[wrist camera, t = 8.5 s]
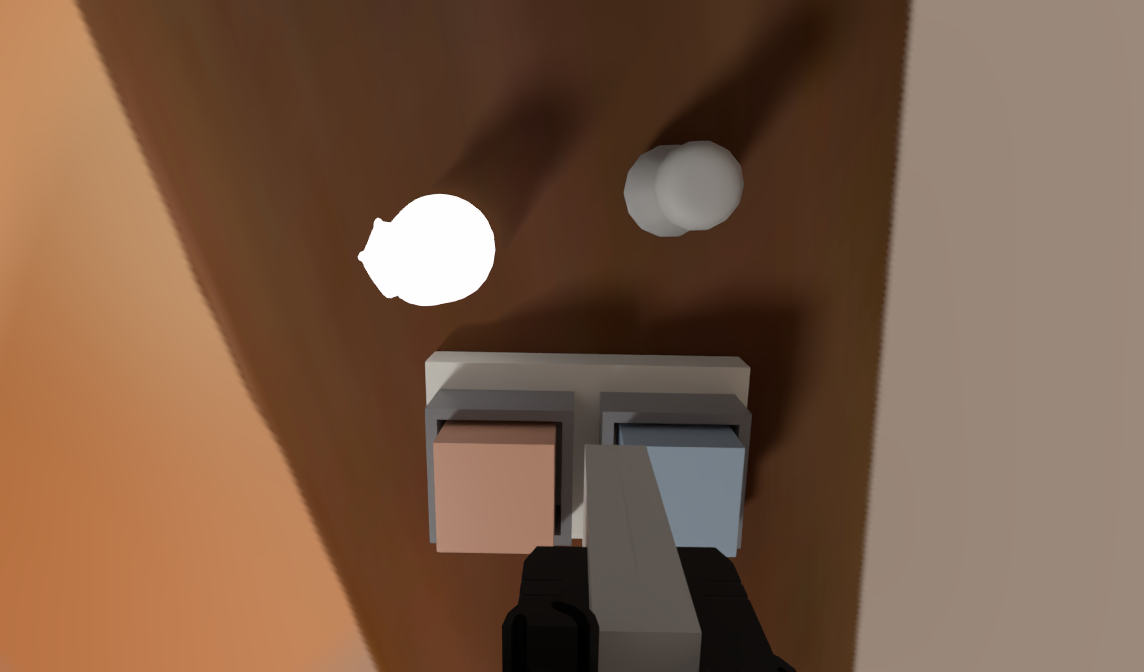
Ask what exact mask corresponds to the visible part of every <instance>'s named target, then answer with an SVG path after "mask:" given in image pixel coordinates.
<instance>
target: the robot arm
mask: <svg viewBox="0 0 1144 672" xmlns="http://www.w3.org/2000/svg"><path fill="white" fill-rule="evenodd" d="M502 665H503V672H796V670H795V669H794V668H793V667H792V666H790V665H789V664H788V663H786V662H785V661H784V660H782V659H781V658H780V657H778V656H776V655H774V654H773V652H772V650H771V648H770V645H769V643H768V641H767V639H766V636H765V634H764V632H763V630H762V627H761V625H760V623H759V620H758V618H757V616H756V614H755V611H754V609H753V607H752V605H751V602H750V600H748V596H747V593H746V591H745V589H744V587H743V585H741V580H740V578H739V575H738V573H737V571H736V569H735V566H734V564H733V563H732V562H731V561H730V560H729V559H728V558H727V557H726V556H725V555H724V554H722V553H721V552H720V551H719V550H718V549H717V548H716V547H676V545H675V542H674V538H673V535H672V532H671V528H670V525H669V521H668V518H667V515H666V511H665V508H664V505H663V501H662V498H661V495H660V491H659V488H658V485H657V481H656V478H655V474H654V471H653V468H652V464H651V461H650V458H649V454H648V451H647V448H646V445H592V444H585V460H584V503H583V547H562V546H536V548H535V549H534V550H533V551H532V552H531V554H530V555H529V556H528V557H527V558H526V560H525V561H524V566H523V573H522V582H521V587H520V595H519V601H518V605H517V606H516V607H514V608H513V609H512V610H511V611H510V612H509V613H508V614H507V616H506V618H505V620H504V623H503V625H502Z"/></svg>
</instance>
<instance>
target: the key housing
mask: <svg viewBox="0 0 1144 672" xmlns="http://www.w3.org/2000/svg"><path fill="white" fill-rule="evenodd" d="M425 372H426V399H427V406H426V408H425V423H426V449H427V476H428V503H429V529H430V543H437V541H436V512H435V484H434V455H433V442H434V440H435V439H436V437H437V435H438V434H439V432H440V430H441V429H442V427H443V425H444V424H445V422H446V420H496V421H553V422H557V450H556V516H555V533H554V545H571V539H572V538H583V503H584V460H585V444H592V445H617V423H666V424H723V425H729V426H730V427H731V429H732V430H733V432H734V433H735V435H736V436H737V437H738V439H739V440H740V442H741V443H742V444H743V446H744V447H745V455H744V467H743V479H742V490H741V502H740V514H739V526H738V537H737V548H740V547H741V536H742V524H743V513H744V501H745V490H746V478H747V466H748V455H749V443H750V432H751V420H752V414H751V413H750V411H749V410H748V409H747V402H748V390H749V378H750V367H749V366H748V365H747V364H746V363H745V362H744V361H743V360H742V359H741V358H739V357H732V356H675V355H619V354H562V353H505V352H449V351H435V352H434V353H433V354H432V355H431V356H430V357H429V358H428V359H427V360H426V361H425Z"/></svg>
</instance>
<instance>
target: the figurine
mask: <svg viewBox="0 0 1144 672" xmlns="http://www.w3.org/2000/svg"><path fill="white" fill-rule="evenodd" d="M494 254H495V244H494V235H493V232H492V230H491V228H490V225H489V223H488V221H487V219H486V218H485V217H484V215H483V214H482V213H481V211H480V210H478V209H477V208H476V207H474V206H473V205H472V204H470V203H469V202H467V201H465V200H463V199H461V198H459V197H455V196H451V195H445V194H435V195H428V196H424V197H421V198H418V199H416V200H414V201H413V202H411V203H410V204H408V205H407V206H406V207H405V208H404V209H403V210H402V211H401V212H400V213H399V214H398V215H397V216H396V217H395V218H394V219H393V221H392V222H383V221H382V220H381V219H379V218H377V219H376V220H375V222H374V228H373V230H372V233H371V235H370V238H369V240H368V243H367V245H366V247H365V250H364V251H362V252H360V254H359V256H358V259H359V260H360V261H362V262H363V264H364V266H365V268H366V270H367V272H368V274H369V275H370V277H371V278H372V280H373V281H374V283H375V284H376V286H377V287H378V288H379V290H380V291H381V292H382V294H383V295H385V296H386V297H387V298H392V297H395V296H399V297H400V298H401V299H403V300H405V301H406V302H408V303H411V304H416V305H421V306H430V305H437V304H443V303H448V302H452V301H456V300H459V299H462V298H465V297H467V296H468V295H470V294H471V293H473V292H475V291H476V290H477V289H478V288H479V287H480V286H481V285H482V284H483V282H484V281H485V280H486V278H487V276H488V274H489V272H490V270H491V268H492V266H493V260H494Z"/></svg>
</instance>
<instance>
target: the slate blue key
mask: <svg viewBox="0 0 1144 672" xmlns="http://www.w3.org/2000/svg"><path fill="white" fill-rule="evenodd" d="M617 445H646V448H647V451H648V454H649V458H650V461H651V464H652V468H653V471H654V474H655V478H656V481H657V485H658V488H659V491H660V495H661V498H662V501H663V505H664V508H665V511H666V515H667V518H668V521H669V525H670V528H671V532H672V535H673V538H674V542H675V545H676V547H716V548H717V549H718V550H719V551H720V552H721V553H722V554H724V555H725V556H726V557H736V549H737V537H738V526H739V514H740V502H741V490H742V479H743V467H744V455H745V447H744V446H743V444H742V443H741V442H740V440H739V439H738V437H737V436H736V435H735V433H734V432H733V430H732V429H731V427H730V426H729V425H723V424H666V423H617Z"/></svg>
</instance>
